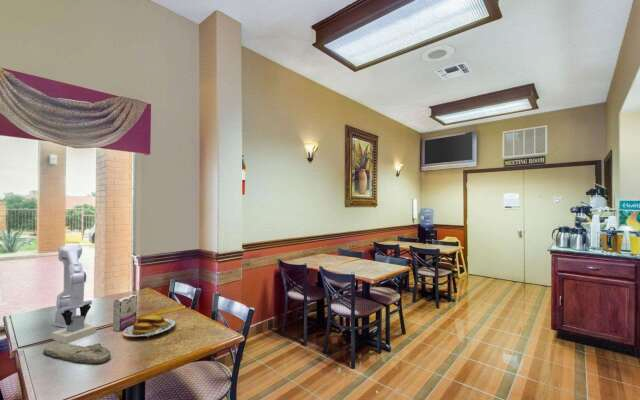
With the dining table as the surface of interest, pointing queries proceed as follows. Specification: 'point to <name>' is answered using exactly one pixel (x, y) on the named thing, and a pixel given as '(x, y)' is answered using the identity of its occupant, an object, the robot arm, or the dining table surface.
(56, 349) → the long grey stone
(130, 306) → the candy bar box
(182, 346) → the dining table surface
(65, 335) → the cream box
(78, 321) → the slate block
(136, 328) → the food on plate
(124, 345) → the dining table surface
